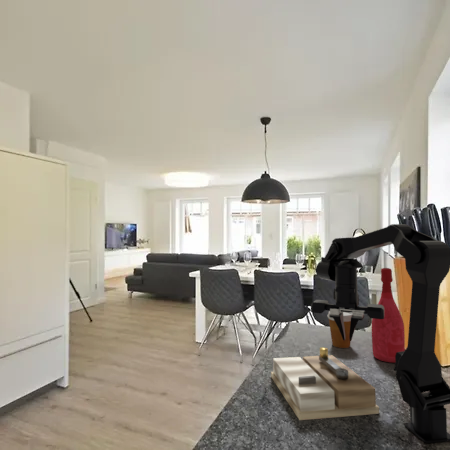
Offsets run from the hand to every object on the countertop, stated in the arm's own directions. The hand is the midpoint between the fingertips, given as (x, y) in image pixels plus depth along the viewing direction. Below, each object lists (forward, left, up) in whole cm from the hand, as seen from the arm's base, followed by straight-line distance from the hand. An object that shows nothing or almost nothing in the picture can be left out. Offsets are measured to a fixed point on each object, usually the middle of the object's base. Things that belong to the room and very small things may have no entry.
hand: (347, 340), depth 92 cm
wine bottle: (+16, -23, -12) cm, 31 cm away
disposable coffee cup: (+31, -14, -12) cm, 37 cm away
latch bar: (-3, +6, -6) cm, 9 cm away
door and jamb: (-4, +10, -12) cm, 16 cm away
